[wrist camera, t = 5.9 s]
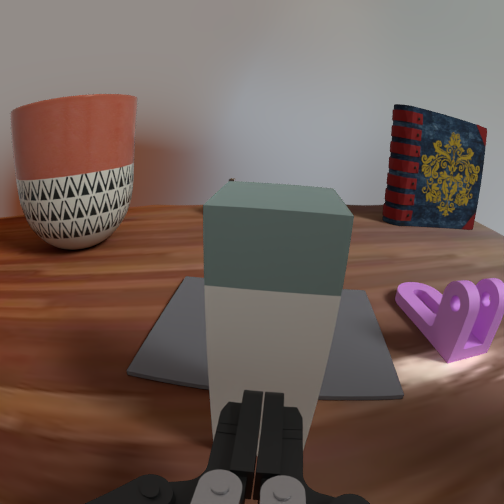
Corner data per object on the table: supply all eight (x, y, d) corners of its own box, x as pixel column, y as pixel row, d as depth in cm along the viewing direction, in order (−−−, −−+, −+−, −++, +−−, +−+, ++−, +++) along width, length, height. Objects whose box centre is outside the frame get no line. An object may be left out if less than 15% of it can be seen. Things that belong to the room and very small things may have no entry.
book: (390, 226, 60) (403, 103, 51) (375, 216, 67) (387, 104, 58) (474, 230, 63) (488, 128, 54) (457, 221, 69) (470, 126, 60)
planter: (76, 281, 34) (61, 92, 26) (5, 254, 39) (-10, 118, 31) (164, 232, 51) (163, 97, 43) (85, 220, 56) (79, 109, 48)
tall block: (300, 399, 20) (333, 188, 15) (300, 458, 15) (353, 216, 10) (227, 392, 20) (229, 181, 15) (213, 450, 16) (203, 205, 11)
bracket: (486, 353, 23) (512, 289, 21) (446, 364, 23) (474, 294, 20) (423, 291, 35) (437, 237, 33) (386, 293, 35) (399, 236, 32)
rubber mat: (364, 293, 34) (364, 290, 34) (402, 398, 19) (404, 394, 19) (186, 279, 36) (186, 276, 36) (127, 374, 21) (126, 370, 21)
